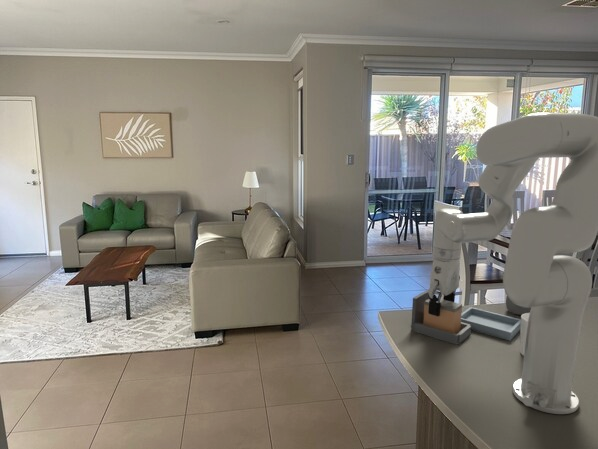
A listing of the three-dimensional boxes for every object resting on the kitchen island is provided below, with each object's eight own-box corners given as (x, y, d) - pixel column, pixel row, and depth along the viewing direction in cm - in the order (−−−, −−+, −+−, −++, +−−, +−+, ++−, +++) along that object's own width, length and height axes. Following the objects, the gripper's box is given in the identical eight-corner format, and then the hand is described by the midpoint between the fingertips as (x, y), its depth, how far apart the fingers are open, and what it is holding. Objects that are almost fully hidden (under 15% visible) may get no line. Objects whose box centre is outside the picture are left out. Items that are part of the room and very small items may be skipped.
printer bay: (458, 345, 121) (460, 310, 119) (411, 330, 130) (412, 297, 128) (471, 333, 128) (474, 300, 126) (426, 320, 137) (428, 289, 135)
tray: (510, 340, 123) (510, 332, 123) (455, 325, 133) (455, 317, 133) (522, 327, 132) (523, 320, 131) (469, 314, 142) (470, 306, 141)
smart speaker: (535, 321, 137) (540, 277, 134) (502, 314, 142) (507, 272, 139) (537, 311, 145) (542, 270, 142) (507, 305, 150) (511, 265, 147)
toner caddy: (452, 339, 124) (455, 309, 122) (422, 330, 130) (424, 301, 128) (459, 333, 128) (462, 304, 126) (430, 325, 134) (432, 296, 132)
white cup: (555, 354, 116) (559, 318, 114) (546, 365, 110) (551, 327, 108) (522, 344, 121) (526, 310, 119) (513, 354, 115) (517, 318, 113)
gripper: (446, 262, 116) (440, 323, 119) (471, 249, 128) (465, 304, 132) (419, 256, 121) (415, 315, 124) (446, 244, 133) (441, 298, 137)
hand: (441, 309), depth 128 cm, fingers open, 9 cm apart
